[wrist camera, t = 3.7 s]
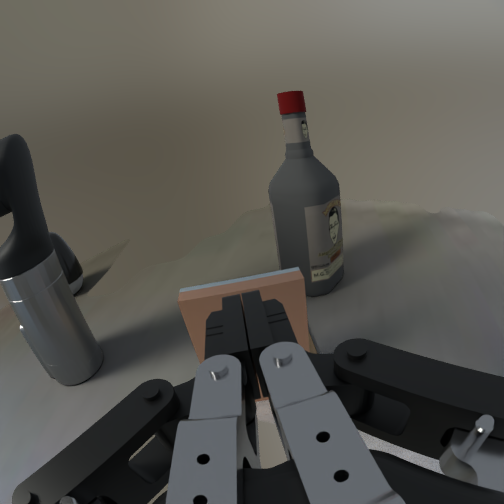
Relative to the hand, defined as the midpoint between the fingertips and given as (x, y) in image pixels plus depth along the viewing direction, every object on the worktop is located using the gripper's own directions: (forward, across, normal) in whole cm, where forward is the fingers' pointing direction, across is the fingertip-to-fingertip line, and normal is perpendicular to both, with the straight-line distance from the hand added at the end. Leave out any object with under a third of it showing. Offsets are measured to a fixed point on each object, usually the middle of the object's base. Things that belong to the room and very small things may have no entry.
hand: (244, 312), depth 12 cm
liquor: (+32, -11, +18) cm, 38 cm away
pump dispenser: (+46, +42, +16) cm, 64 cm away
